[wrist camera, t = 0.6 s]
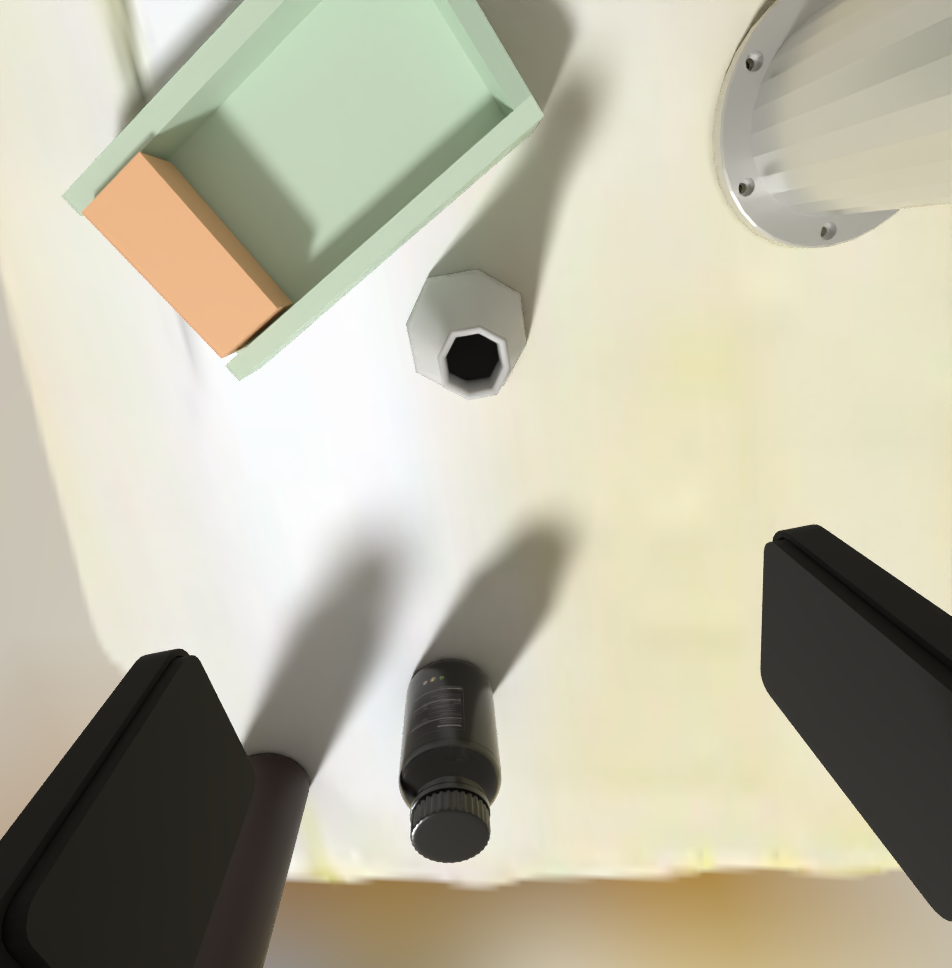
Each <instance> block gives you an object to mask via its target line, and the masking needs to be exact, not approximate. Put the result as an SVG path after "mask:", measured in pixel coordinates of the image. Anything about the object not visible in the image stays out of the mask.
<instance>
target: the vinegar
mask: <svg viewBox="0 0 952 968" xmlns="http://www.w3.org/2000/svg"><path fill="white" fill-rule="evenodd" d="M248 758H249V761H250V763H251V765H252V767H253V769H254V772H255V790H254V794H253V797H252V800H251V803H250V806H249V808H248V811H247V814H246V817H245V820H244V823H243V826H242V829H241V831H240V834H239V837H238V840H237V843H236V846H235V849H234V851H233V854H232V857H231V860H230V863H229V866H228V869H227V872H226V874H225V877H224V880H223V883H222V886H221V889H220V892H219V894H218V897H217V900H216V903H215V906H214V909H213V912H212V915H211V917H210V920H209V923H208V926H207V929H206V932H205V935H204V937H203V940H202V943H201V946H200V949H199V952H198V955H197V958H196V960H195V963H194V966H193V968H263V966H264V962H265V958H266V954H267V950H268V947H269V942H270V938H271V935H272V931H273V927H274V923H275V919H276V916H277V911H278V908H279V904H280V900H281V896H282V892H283V889H284V885H285V881H286V877H287V873H288V869H289V866H290V862H291V858H292V854H293V850H294V846H295V843H296V839H297V835H298V831H299V827H300V823H301V819H302V816H303V812H304V808H305V804H306V800H307V796H308V792H309V779H308V777H307V774H306V772H305V771H304V770H303V769H302V768H301V767H300V766H299V765H298V764H297V763H295V762H294V761H292V760H290V759H289V758H286V757H283V756H279V755H274V754H260V755H254V756H250V757H248Z"/></svg>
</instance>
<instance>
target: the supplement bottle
mask: <svg viewBox="0 0 952 968" xmlns="http://www.w3.org/2000/svg"><path fill="white" fill-rule="evenodd" d="M500 786H501V767H500V758H499V748H498V739H497V730H496V720H495V711H494V702H493V694H492V688H491V685H490V682H489V680H488V678H487V677H486V675H485V674H484V673H483V672H482V671H481V670H480V669H479V668H477V667H476V666H474V665H472V664H470V663H467V662H464V661H460V660H441V661H437V662H434V663H431V664H429V665H427V666H425V667H424V668H422V669H421V670H420V671H418V672H417V673H416V674H415V676H414V677H413V678H412V680H411V682H410V684H409V686H408V690H407V696H406V706H405V716H404V727H403V738H402V749H401V759H400V770H399V789H400V793H401V796H402V798H403V800H404V802H405V803H406V805H407V806H408V807H409V809H410V821H411V834H410V838H411V841H412V845H413V846H414V847H415V850H416V851H418V853H419V854H421V855H423V856H424V857H425V858H428V859H430V860H433V861H436V862H443V863H454V862H461V861H463V860H468V859H469V858H472V857H474V856H475V855H477V854H479V853H480V852H481V851H482V850H484V848H485V846H486V845H487V844H488V841H489V839H490V832H491V830H490V806H491V805H492V804H493V802H494V801H495V799H496V797H497V795H498V793H499V790H500Z"/></svg>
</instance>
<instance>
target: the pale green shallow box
mask: <svg viewBox="0 0 952 968" xmlns="http://www.w3.org/2000/svg"><path fill="white" fill-rule="evenodd" d="M543 116H544V114H543V113H542V111H541V109H540V108H539V106H538V104H537V103H536V101H535V99H534V97H533V96H532V94H531V92H530V91H529V89H528V87H527V86H526V84H525V82H524V81H523V79H522V77H521V75H520V74H519V72H518V70H517V69H516V67H515V65H514V64H513V62H512V60H511V59H510V57H509V55H508V53H507V52H506V50H505V48H504V47H503V45H502V43H501V42H500V40H499V38H498V36H497V35H496V33H495V31H494V30H493V28H492V26H491V25H490V23H489V21H488V20H487V18H486V16H485V14H484V13H483V11H482V9H481V8H480V6H479V4H478V3H477V1H476V0H244V1H243V2H242V3H241V4H240V5H239V6H238V7H237V8H236V9H235V11H234V12H233V13H232V14H231V15H230V16H229V17H228V18H227V19H226V20H225V21H224V22H223V23H222V24H221V26H220V27H219V28H218V29H217V30H216V31H215V32H214V33H213V34H212V35H211V36H210V37H209V38H208V39H207V41H206V42H205V43H204V44H203V45H202V46H201V47H200V48H199V49H198V50H197V51H196V52H195V53H194V55H193V56H192V57H191V58H190V59H189V60H188V61H187V62H186V63H185V64H184V65H183V66H182V67H181V68H180V70H179V71H178V72H177V73H176V74H175V75H174V76H173V77H172V78H171V79H170V80H169V81H168V82H167V84H166V85H165V86H164V87H163V88H162V89H161V90H160V91H159V92H158V93H157V94H156V95H155V96H154V97H153V99H152V100H151V101H150V102H149V103H148V104H147V105H146V106H145V107H144V108H143V109H142V110H141V111H140V112H139V114H138V115H137V116H136V117H135V118H134V119H133V120H132V121H131V122H130V123H129V124H128V125H127V126H126V128H125V129H124V130H123V131H122V132H121V133H120V134H119V135H118V136H117V137H116V138H115V139H114V140H113V141H112V143H111V144H110V145H109V146H108V147H107V148H106V149H105V150H104V151H103V152H102V153H101V154H100V155H99V157H98V158H97V159H96V160H95V161H94V162H93V163H92V164H91V165H90V166H89V167H88V168H87V169H86V170H85V172H84V173H83V174H82V175H81V176H80V177H79V178H78V179H77V180H76V181H75V182H74V183H73V184H72V185H71V187H70V188H69V189H68V190H67V191H66V192H65V193H64V194H63V195H62V197H63V198H64V199H65V200H66V201H67V202H68V204H69V205H70V206H71V207H72V208H73V209H74V210H75V211H76V212H77V213H78V214H79V215H82V216H84V215H83V214H82V213H81V212H82V211H83V210H84V209H85V208H86V207H87V206H88V205H89V204H90V203H91V202H92V201H93V200H94V199H95V198H96V197H97V196H98V195H99V193H100V192H101V191H102V190H103V189H104V188H105V187H106V186H107V185H108V184H109V183H110V182H111V181H112V180H113V179H114V178H115V177H116V176H117V175H118V173H119V172H120V171H121V170H122V169H123V168H124V167H125V166H126V165H127V164H128V163H129V162H130V161H131V160H132V159H133V158H134V157H135V156H136V155H137V154H138V152H141V153H144V154H147V155H150V156H153V157H156V158H159V159H162V160H165V161H168V162H171V163H172V164H173V165H174V166H175V167H176V169H177V170H178V171H179V172H180V173H181V174H182V176H183V177H184V178H185V179H186V180H187V181H188V182H189V184H190V185H191V186H192V187H193V188H194V189H195V191H196V192H197V193H198V194H199V195H200V196H201V197H202V199H203V200H204V201H205V202H206V203H207V204H208V206H209V207H210V208H211V209H212V210H213V211H214V212H215V214H216V215H217V216H218V217H219V218H220V219H221V221H222V222H223V223H224V224H225V225H226V226H227V228H228V229H229V230H230V231H231V232H232V233H233V234H234V236H235V237H236V238H237V239H238V240H239V241H240V243H241V244H242V245H243V246H244V247H245V248H246V249H247V251H248V252H249V253H250V254H251V255H252V256H253V258H254V259H255V260H256V261H257V262H258V263H259V264H260V266H261V267H262V268H263V269H264V270H265V271H266V273H267V274H268V275H269V276H270V277H271V278H272V279H273V281H274V282H275V283H276V284H277V285H278V286H279V288H280V289H281V290H282V291H283V292H284V293H285V294H286V296H287V297H288V298H289V299H290V300H291V301H292V303H293V304H292V305H291V306H290V307H289V308H288V309H287V310H285V311H284V312H283V313H282V314H281V315H280V316H279V317H278V318H276V319H275V320H274V321H273V322H272V323H271V324H270V325H268V326H267V327H266V328H265V329H264V330H263V331H262V332H261V333H259V334H258V335H257V336H256V337H255V338H254V339H253V340H252V341H250V342H249V343H248V344H247V345H246V346H245V347H244V348H243V349H241V350H239V351H236V352H237V353H238V355H237V356H236V357H235V358H233V359H232V360H231V361H230V362H229V363H228V364H227V365H226V367H227V368H228V370H229V371H230V372H231V373H232V374H233V375H234V376H235V377H236V378H237V379H238V380H239V381H240V380H241V379H243V378H245V377H246V376H248V375H250V374H251V373H253V372H255V371H256V370H258V369H260V368H261V367H263V366H264V365H265V364H266V363H267V362H268V361H269V360H271V359H272V358H273V357H274V356H275V355H276V354H278V353H279V352H280V351H281V350H282V349H283V348H284V347H286V346H287V345H288V344H289V343H290V342H291V341H293V340H294V339H295V338H296V337H297V336H298V335H299V334H301V333H302V332H303V331H304V330H305V329H306V328H308V327H309V326H310V325H311V324H312V323H313V322H314V321H316V320H317V319H318V318H319V317H320V316H321V315H322V314H324V313H325V312H326V311H327V310H328V309H329V308H331V307H332V306H333V305H334V304H335V303H336V302H337V301H339V300H340V299H341V298H342V297H343V296H344V295H346V294H347V293H348V292H349V291H350V290H351V289H352V288H354V287H355V286H356V285H357V284H358V283H359V282H361V281H362V280H363V279H364V278H365V277H366V276H367V275H369V274H370V273H371V272H372V271H373V270H374V269H376V268H377V267H378V266H379V265H380V264H381V263H382V262H384V261H385V260H386V259H387V258H388V257H389V256H391V255H392V254H393V253H394V252H395V251H396V250H397V249H399V248H400V247H401V246H402V245H403V244H404V243H406V242H407V241H408V240H409V239H410V238H411V237H412V236H414V235H415V234H416V233H417V232H418V231H419V230H421V229H422V228H423V227H424V226H425V225H426V224H427V223H429V222H430V221H431V220H432V219H433V218H434V217H435V216H437V215H438V214H439V213H440V212H441V211H442V210H444V209H445V208H446V207H447V206H448V205H449V204H450V203H452V202H453V201H454V200H455V199H456V198H457V197H459V196H460V195H461V194H462V193H463V192H464V191H465V190H467V189H468V188H469V187H470V186H471V185H472V184H474V183H475V182H476V181H477V180H478V179H479V178H480V177H482V176H483V175H484V174H485V173H486V172H487V171H489V170H490V169H491V168H492V167H493V166H494V165H495V164H497V163H498V162H499V161H500V160H501V159H502V158H504V157H505V156H506V155H507V154H508V153H509V152H510V151H512V150H513V149H514V148H515V147H516V146H517V145H519V144H520V143H521V142H522V141H523V140H524V139H525V138H527V137H528V136H529V135H530V134H531V133H532V132H533V131H534V129H535V128H536V127H537V125H538V124H539V122H540V121H541V119H542V118H543Z"/></svg>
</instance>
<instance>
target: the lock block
mask: <svg viewBox="0 0 952 968" xmlns="http://www.w3.org/2000/svg"><path fill="white" fill-rule="evenodd" d="M81 213H82V214H83V215H84V216H85V217H86V218H87V219H88V220H89V221H90V222H91V223H92V224H93V225H94V226H95V227H96V228H97V229H98V230H99V231H100V232H101V233H102V234H103V236H104V237H105V238H106V239H107V240H108V241H109V242H110V243H111V244H112V245H113V246H114V247H115V248H116V249H117V250H118V251H119V252H120V253H121V254H122V255H123V256H124V257H125V258H126V259H127V261H128V262H129V263H130V264H131V265H132V266H133V267H134V268H135V269H136V270H137V271H138V272H139V273H140V274H141V275H142V276H143V277H144V278H145V279H146V280H147V281H148V282H149V283H150V284H151V285H152V287H153V288H154V289H155V290H156V291H157V292H158V293H159V294H160V295H161V296H162V297H163V298H164V299H165V300H166V301H167V302H168V303H169V304H170V305H171V306H172V307H173V308H174V309H175V310H176V311H177V313H178V314H179V315H180V316H181V317H182V318H183V319H184V320H185V321H186V322H187V323H188V324H189V325H190V326H191V327H192V328H193V329H194V330H195V331H196V332H197V333H198V334H199V335H200V336H201V338H202V339H203V340H204V341H205V342H206V343H207V344H208V345H209V346H210V347H211V348H212V349H213V350H214V351H215V352H216V353H217V354H218V355H219V356H220V357H221V358H223V357H225V356H228V355H230V354H232V353H234V352H236V351H239V350H241V349H243V348H244V347H245V346H246V345H247V344H248V343H249V342H250V341H252V340H253V339H254V338H255V337H256V336H257V335H258V334H259V333H261V332H262V331H263V330H264V329H265V328H266V327H267V326H268V325H270V324H271V323H272V322H273V321H274V320H275V319H276V318H278V317H279V316H280V315H281V314H282V313H283V312H284V311H285V310H287V309H288V308H289V307H290V306H291V305H292V304H293V303H292V301H291V300H290V299H289V298H288V297H287V296H286V294H285V293H284V292H283V291H282V290H281V289H280V288H279V286H278V285H277V284H276V283H275V282H274V281H273V279H272V278H271V277H270V276H269V275H268V274H267V273H266V271H265V270H264V269H263V268H262V267H261V266H260V264H259V263H258V262H257V261H256V260H255V259H254V258H253V256H252V255H251V254H250V253H249V252H248V251H247V249H246V248H245V247H244V246H243V245H242V244H241V243H240V241H239V240H238V239H237V238H236V237H235V236H234V234H233V233H232V232H231V231H230V230H229V229H228V228H227V226H226V225H225V224H224V223H223V222H222V221H221V219H220V218H219V217H218V216H217V215H216V214H215V212H214V211H213V210H212V209H211V208H210V207H209V206H208V204H207V203H206V202H205V201H204V200H203V199H202V197H201V196H200V195H199V194H198V193H197V192H196V191H195V189H194V188H193V187H192V186H191V185H190V184H189V182H188V181H187V180H186V179H185V178H184V177H183V176H182V174H181V173H180V172H179V171H178V170H177V169H176V167H175V166H174V165H173V164H172V163H171V162H168V161H165V160H162V159H159V158H156V157H153V156H150V155H147V154H144V153H141V152H138V154H137V155H136V156H135V157H134V158H133V159H132V160H131V161H130V162H129V163H128V164H127V165H126V166H125V167H124V168H123V169H122V170H121V171H120V172H119V173H118V175H117V176H116V177H115V178H114V179H113V180H112V181H111V182H110V183H109V184H108V185H107V186H106V187H105V188H104V189H103V190H102V191H101V192H100V193H99V195H98V196H97V197H96V198H95V199H94V200H93V201H92V202H91V203H90V204H89V205H88V206H87V207H86V208H85V209H84V210H83V211H82V212H81Z"/></svg>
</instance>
